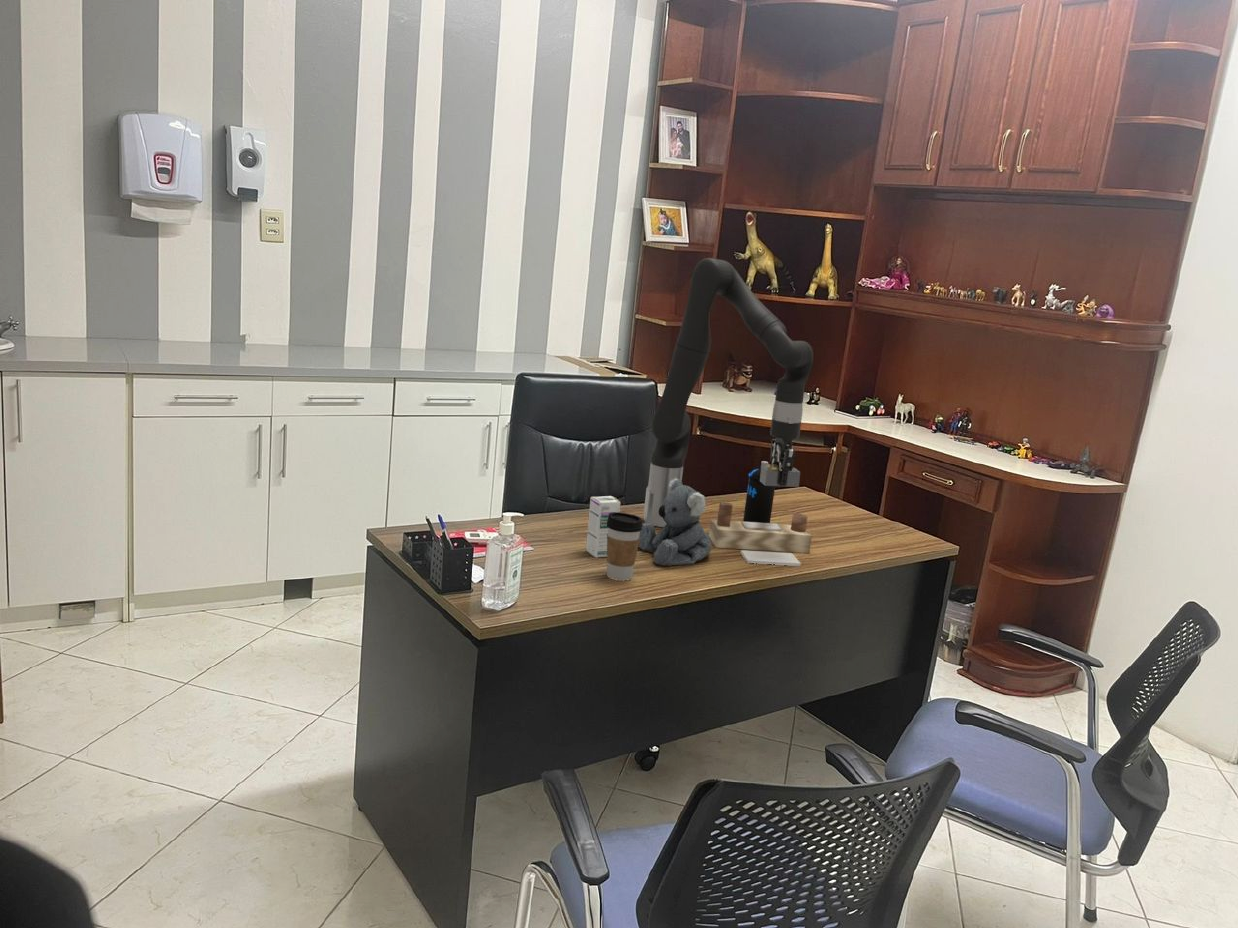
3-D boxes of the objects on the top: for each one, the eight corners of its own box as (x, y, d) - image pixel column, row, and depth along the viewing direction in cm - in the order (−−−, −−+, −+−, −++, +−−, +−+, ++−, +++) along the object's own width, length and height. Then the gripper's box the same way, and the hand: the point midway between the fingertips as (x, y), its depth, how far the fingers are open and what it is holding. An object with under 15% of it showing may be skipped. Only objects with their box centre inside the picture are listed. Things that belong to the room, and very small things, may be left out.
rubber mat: (747, 563, 245) (748, 560, 244) (740, 553, 252) (740, 550, 252) (800, 566, 246) (800, 563, 246) (791, 556, 254) (791, 553, 254)
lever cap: (765, 485, 246) (767, 467, 245) (759, 481, 251) (761, 463, 250) (798, 486, 247) (800, 468, 246) (792, 482, 252) (794, 464, 251)
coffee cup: (600, 569, 229) (606, 509, 226) (635, 571, 230) (641, 512, 227) (602, 581, 221) (608, 520, 218) (638, 584, 222) (645, 522, 218)
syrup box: (595, 558, 237) (600, 502, 233) (585, 550, 242) (590, 495, 238) (615, 556, 239) (621, 501, 236) (605, 549, 244) (610, 494, 241)
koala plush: (631, 545, 249) (639, 473, 245) (693, 543, 256) (702, 473, 252) (658, 568, 234) (667, 492, 229) (723, 566, 241) (733, 491, 236)
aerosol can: (769, 526, 279) (778, 460, 275) (770, 534, 271) (780, 466, 267) (741, 523, 280) (749, 457, 275) (741, 531, 272) (750, 463, 267)
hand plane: (715, 547, 255) (720, 508, 252) (708, 536, 264) (713, 498, 261) (809, 553, 258) (815, 514, 256) (799, 542, 267) (805, 504, 264)
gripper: (764, 412, 251) (757, 475, 255) (780, 423, 237) (772, 489, 241) (792, 414, 252) (784, 476, 256) (809, 424, 239) (801, 490, 242)
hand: (778, 482), depth 249 cm, fingers closed on lever cap, 5 cm apart
